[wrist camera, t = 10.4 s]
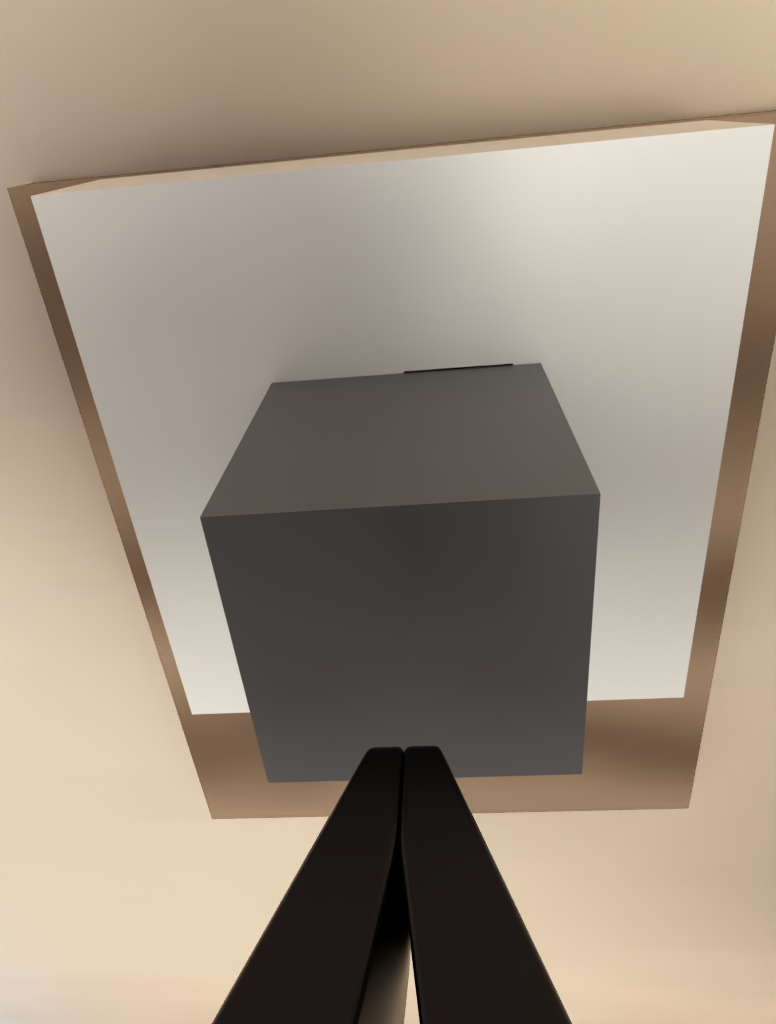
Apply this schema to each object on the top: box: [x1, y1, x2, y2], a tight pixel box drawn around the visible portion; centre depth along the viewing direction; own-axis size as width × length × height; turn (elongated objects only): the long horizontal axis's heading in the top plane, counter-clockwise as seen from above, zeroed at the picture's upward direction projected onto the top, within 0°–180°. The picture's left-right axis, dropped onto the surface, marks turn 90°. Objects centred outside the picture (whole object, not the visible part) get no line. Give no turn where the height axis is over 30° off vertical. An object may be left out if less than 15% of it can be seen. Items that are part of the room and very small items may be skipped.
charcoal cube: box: [200, 363, 601, 783], centre depth 13 cm, size 5×5×7 cm
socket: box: [31, 120, 775, 714], centre depth 16 cm, size 12×12×3 cm
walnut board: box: [7, 111, 776, 819], centre depth 19 cm, size 20×16×1 cm
